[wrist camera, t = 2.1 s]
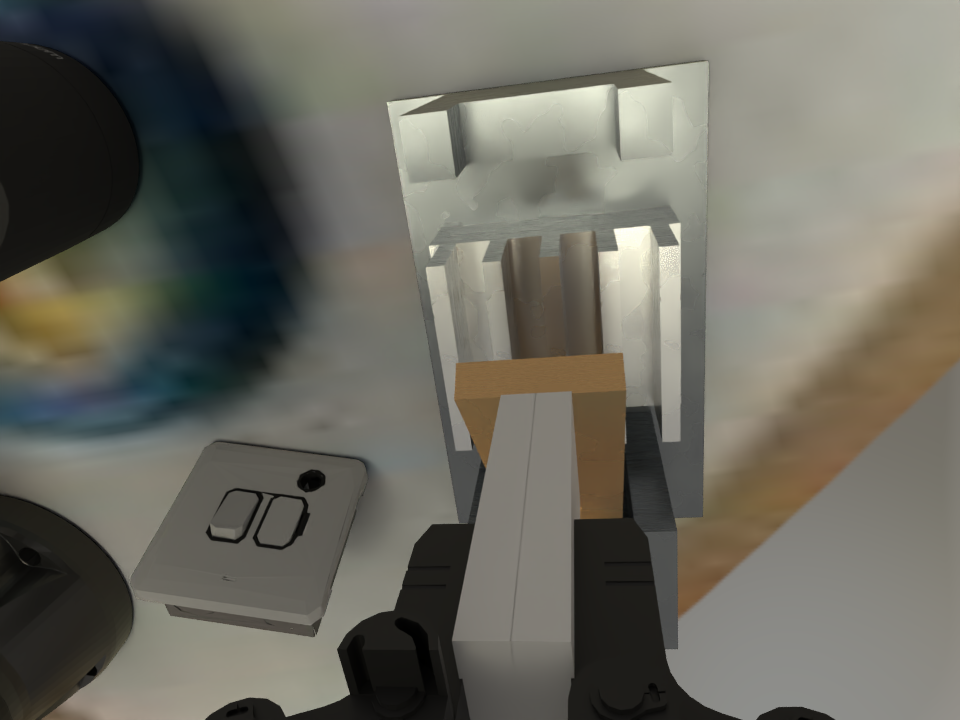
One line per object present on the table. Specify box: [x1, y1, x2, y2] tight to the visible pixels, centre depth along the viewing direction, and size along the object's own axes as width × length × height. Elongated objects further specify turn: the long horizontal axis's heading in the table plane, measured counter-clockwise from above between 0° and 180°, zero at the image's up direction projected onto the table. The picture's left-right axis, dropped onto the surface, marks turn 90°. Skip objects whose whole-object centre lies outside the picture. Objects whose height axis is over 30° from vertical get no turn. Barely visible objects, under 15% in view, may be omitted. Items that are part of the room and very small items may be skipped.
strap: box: [454, 353, 626, 519], centre depth 22 cm, size 15×4×1 cm
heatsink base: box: [387, 60, 709, 649], centre depth 28 cm, size 22×13×10 cm, turn 7°
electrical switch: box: [130, 442, 368, 637], centre depth 35 cm, size 9×5×9 cm, turn 86°
